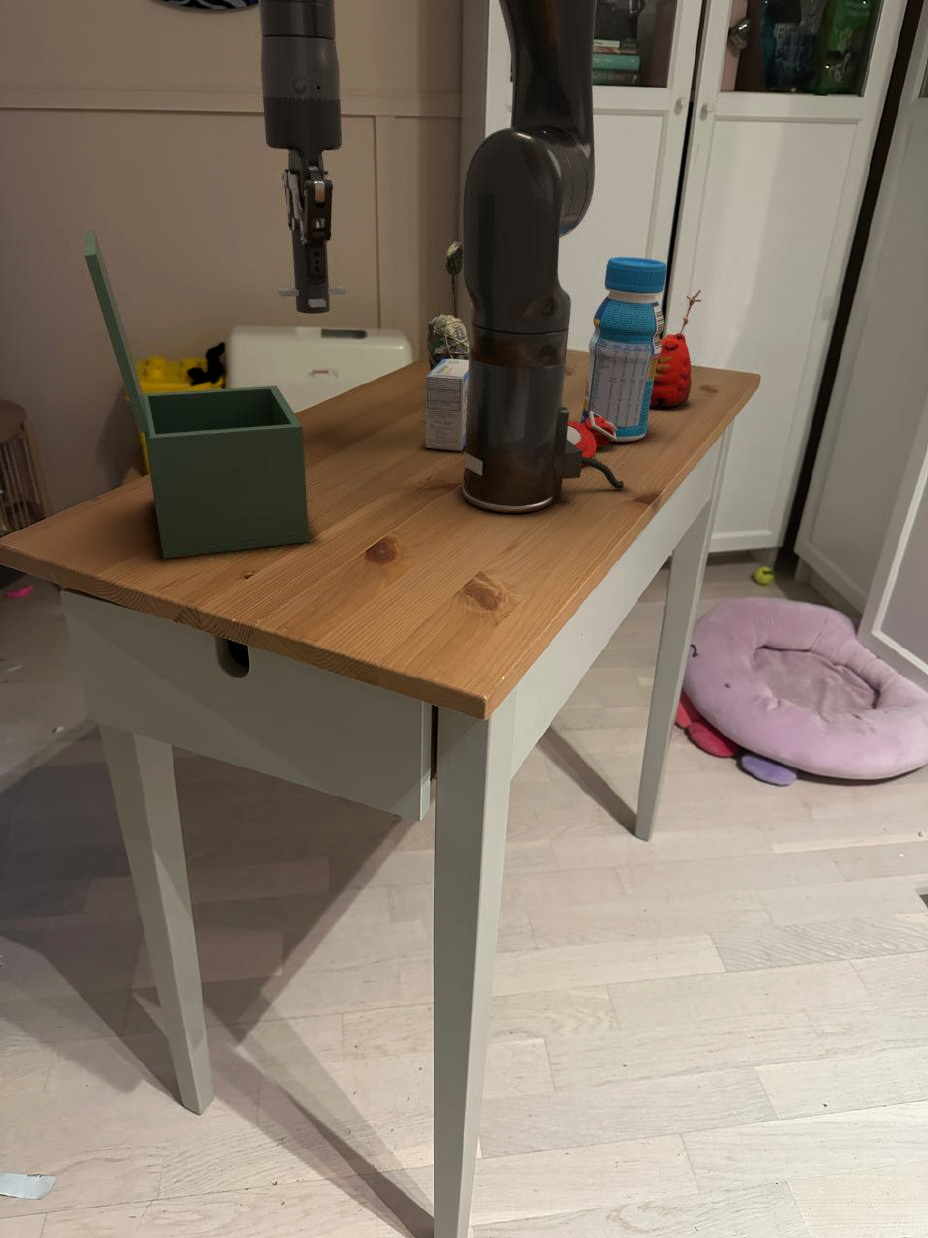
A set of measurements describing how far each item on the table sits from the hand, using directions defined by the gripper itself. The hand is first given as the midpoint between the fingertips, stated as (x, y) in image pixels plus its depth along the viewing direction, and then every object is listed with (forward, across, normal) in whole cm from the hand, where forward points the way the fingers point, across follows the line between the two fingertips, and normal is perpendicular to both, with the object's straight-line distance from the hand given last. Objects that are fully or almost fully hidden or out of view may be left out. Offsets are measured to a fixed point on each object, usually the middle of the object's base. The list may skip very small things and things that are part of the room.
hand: (311, 278), depth 95 cm
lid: (0, -21, +20) cm, 29 cm away
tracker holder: (+18, -12, -27) cm, 35 cm away
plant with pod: (+18, +8, -20) cm, 28 cm away
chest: (+18, -21, +13) cm, 30 cm away
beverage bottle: (+18, -6, -35) cm, 40 cm away
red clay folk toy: (+18, +4, -48) cm, 52 cm away
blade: (+3, 0, 0) cm, 3 cm away
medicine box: (+18, -4, -15) cm, 24 cm away
